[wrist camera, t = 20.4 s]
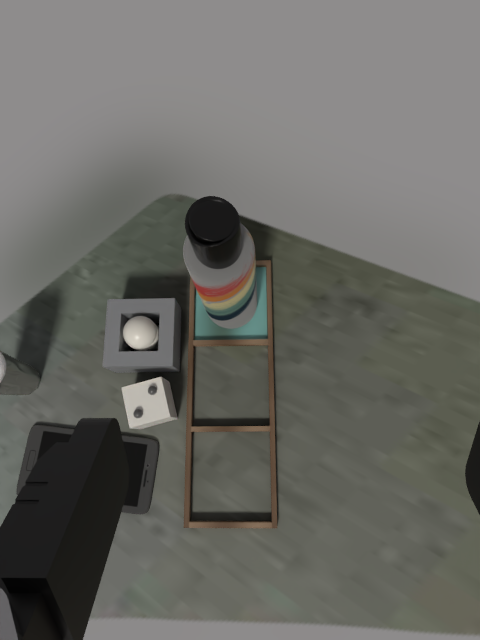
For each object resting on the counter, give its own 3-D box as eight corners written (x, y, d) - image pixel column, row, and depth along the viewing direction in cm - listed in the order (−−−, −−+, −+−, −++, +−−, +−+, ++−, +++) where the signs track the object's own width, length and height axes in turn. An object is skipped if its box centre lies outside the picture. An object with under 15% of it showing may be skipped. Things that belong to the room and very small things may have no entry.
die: (169, 381, 48) (159, 375, 43) (177, 418, 46) (169, 416, 42) (133, 391, 47) (119, 386, 43) (140, 429, 46) (127, 428, 42)
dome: (163, 323, 49) (153, 311, 44) (162, 354, 48) (151, 345, 43) (133, 324, 49) (119, 312, 44) (131, 354, 48) (117, 345, 43)
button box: (181, 309, 50) (174, 298, 46) (179, 371, 48) (172, 365, 44) (119, 310, 50) (107, 299, 46) (115, 372, 48) (102, 366, 44)
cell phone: (34, 423, 48) (30, 423, 47) (161, 439, 46) (160, 439, 46) (17, 496, 46) (13, 497, 45) (149, 514, 45) (148, 516, 44)
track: (270, 262, 50) (270, 260, 50) (277, 526, 43) (277, 528, 43) (191, 264, 51) (190, 262, 50) (185, 526, 44) (183, 527, 43)
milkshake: (60, 377, 48) (10, 362, 39) (20, 410, 48) (-42, 403, 38) (37, 346, 49) (-18, 324, 40) (-3, 378, 49) (-69, 363, 39)
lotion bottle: (198, 293, 50) (156, 200, 30) (244, 272, 50) (232, 168, 31) (218, 338, 48) (188, 271, 29) (266, 316, 49) (267, 236, 29)
